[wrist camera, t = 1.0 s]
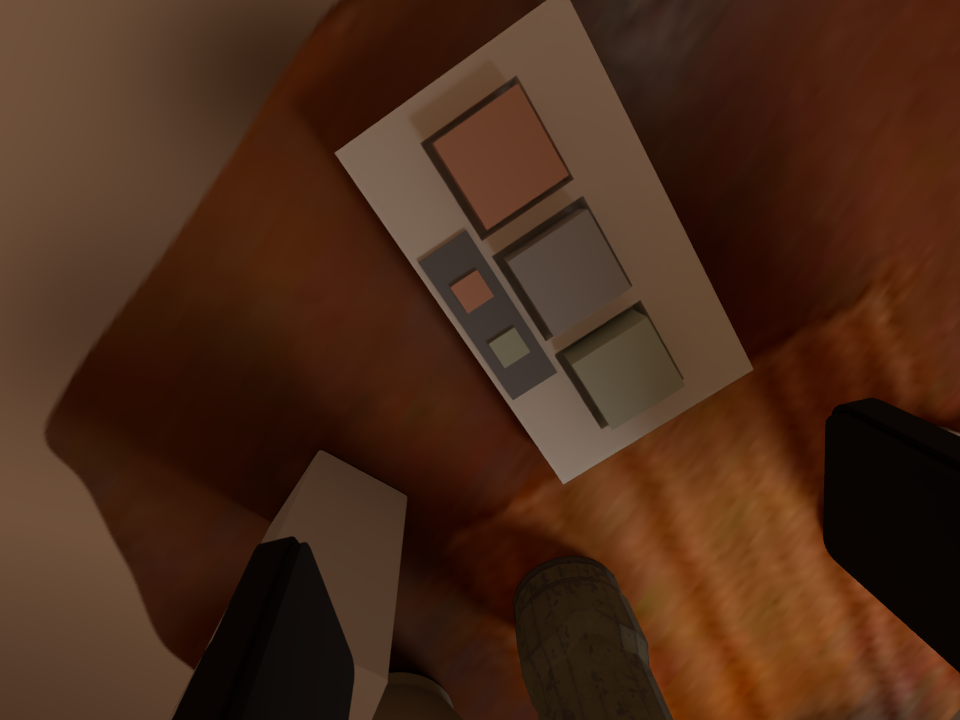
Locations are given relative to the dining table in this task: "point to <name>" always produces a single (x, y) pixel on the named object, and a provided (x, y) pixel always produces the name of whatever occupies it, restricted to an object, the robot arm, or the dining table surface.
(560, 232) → the grey key
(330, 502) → the milk carton
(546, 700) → the thermos
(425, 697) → the planter bowl
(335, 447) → the dining table surface
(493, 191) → the terracotta key
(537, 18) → the keypad
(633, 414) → the sage key
